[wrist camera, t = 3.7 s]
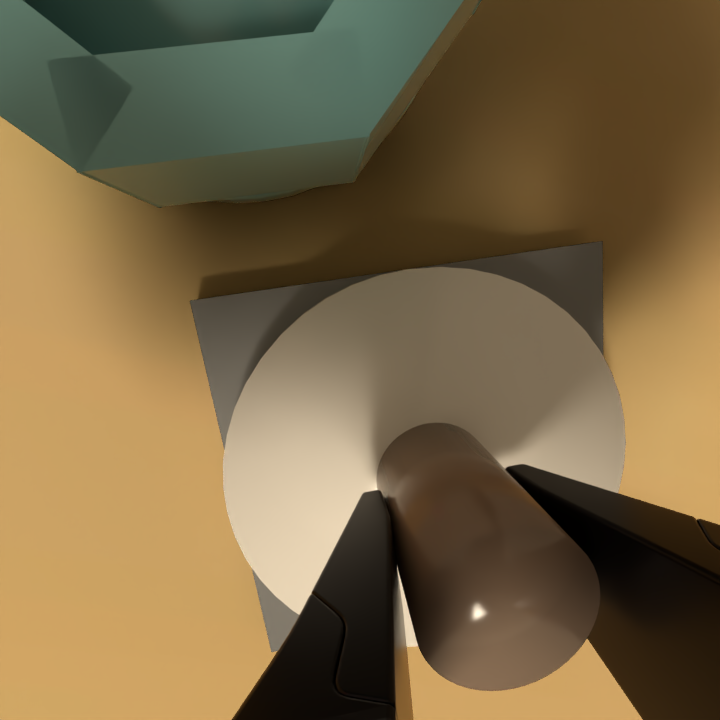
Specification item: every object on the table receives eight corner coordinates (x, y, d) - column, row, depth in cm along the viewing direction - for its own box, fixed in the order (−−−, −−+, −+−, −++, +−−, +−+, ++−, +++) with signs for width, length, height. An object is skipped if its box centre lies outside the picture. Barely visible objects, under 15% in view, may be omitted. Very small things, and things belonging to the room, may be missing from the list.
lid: (602, 241, 10) (870, 206, 5) (604, 585, 12) (790, 788, 7) (190, 299, 9) (45, 323, 4) (270, 652, 11) (233, 922, 6)
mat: (589, 242, 10) (602, 241, 10) (593, 572, 12) (604, 584, 12) (196, 299, 9) (190, 300, 9) (273, 636, 12) (271, 652, 11)
